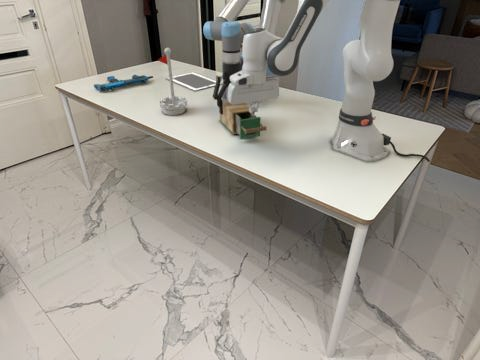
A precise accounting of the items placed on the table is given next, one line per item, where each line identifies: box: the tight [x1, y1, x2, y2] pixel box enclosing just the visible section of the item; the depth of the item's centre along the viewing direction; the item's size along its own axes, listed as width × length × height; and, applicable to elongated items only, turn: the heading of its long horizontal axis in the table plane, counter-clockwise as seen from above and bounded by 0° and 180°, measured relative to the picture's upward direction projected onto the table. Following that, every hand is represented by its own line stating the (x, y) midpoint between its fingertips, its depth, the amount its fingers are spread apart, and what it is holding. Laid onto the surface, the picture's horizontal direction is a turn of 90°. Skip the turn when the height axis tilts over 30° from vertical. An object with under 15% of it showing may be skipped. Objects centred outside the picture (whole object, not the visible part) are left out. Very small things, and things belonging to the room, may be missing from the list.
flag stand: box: [157, 47, 188, 116], centre depth 161 cm, size 13×13×30 cm
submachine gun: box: [93, 74, 154, 92], centre depth 206 cm, size 34×4×25 cm
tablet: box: [166, 71, 223, 92], centre depth 210 cm, size 32×20×1 cm, turn 41°
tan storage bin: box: [219, 99, 256, 135], centre depth 151 cm, size 17×10×10 cm, turn 22°
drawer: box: [234, 112, 268, 140], centre depth 143 cm, size 22×9×8 cm, turn 22°
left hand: (232, 111), depth 156 cm, fingers closed on tan storage bin, 10 cm apart
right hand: (253, 111), depth 132 cm, fingers closed
